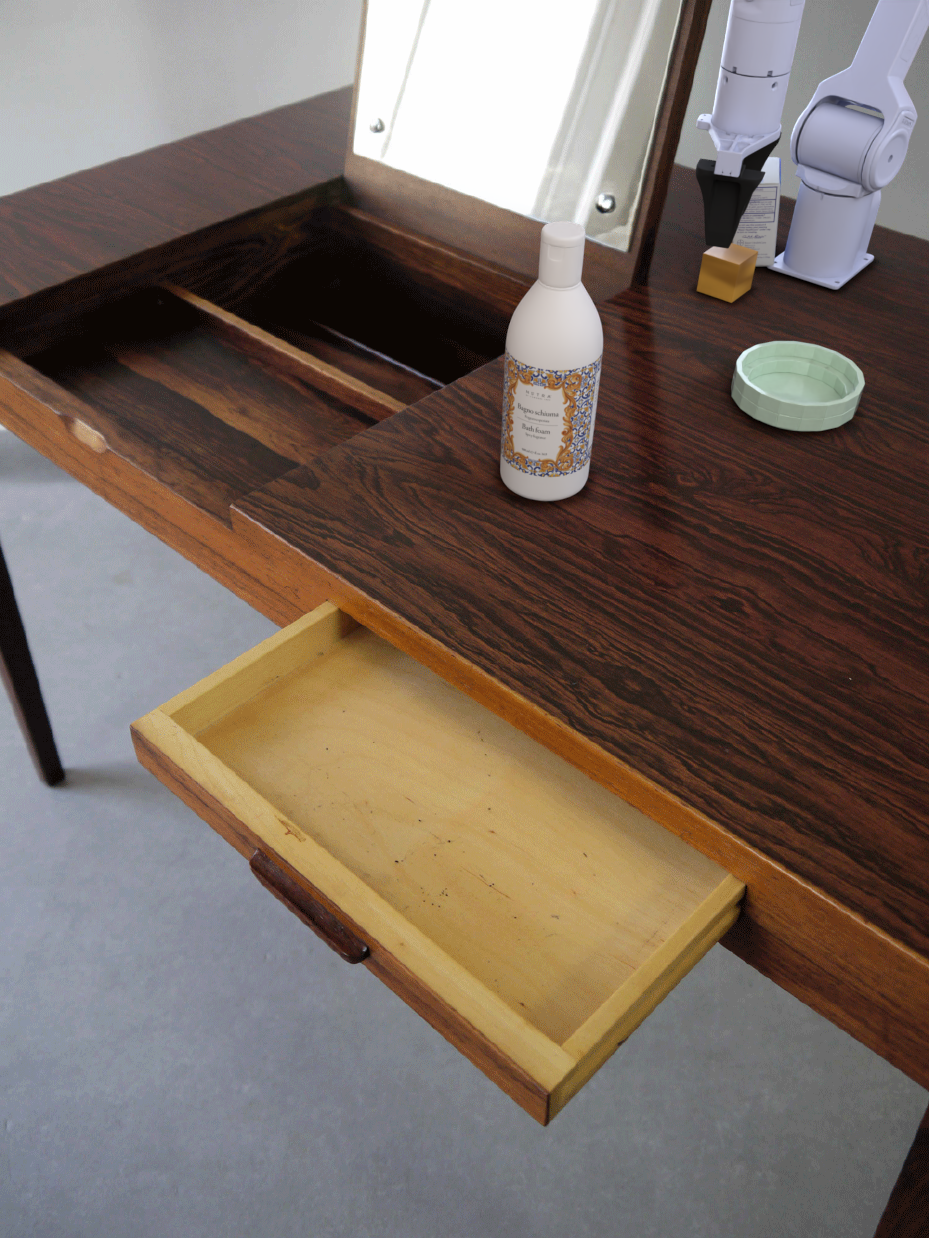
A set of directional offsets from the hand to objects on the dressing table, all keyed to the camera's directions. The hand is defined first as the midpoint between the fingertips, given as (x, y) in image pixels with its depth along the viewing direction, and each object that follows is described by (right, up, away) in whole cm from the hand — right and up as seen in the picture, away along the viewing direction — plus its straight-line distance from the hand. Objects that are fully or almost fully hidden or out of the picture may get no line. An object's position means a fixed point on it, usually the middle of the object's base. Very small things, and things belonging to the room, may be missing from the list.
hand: (725, 228), depth 96 cm
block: (+2, -2, +11) cm, 11 cm away
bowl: (+5, -17, -5) cm, 18 cm away
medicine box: (+7, +4, +17) cm, 19 cm away
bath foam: (-18, -25, -13) cm, 33 cm away
